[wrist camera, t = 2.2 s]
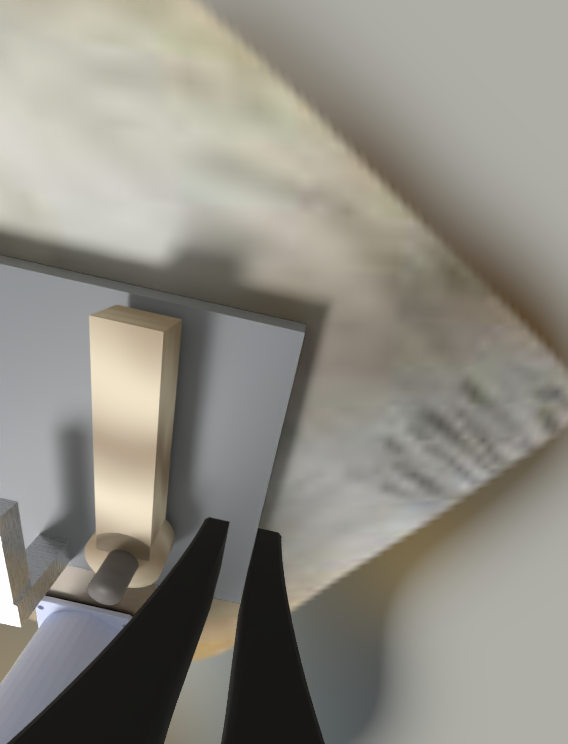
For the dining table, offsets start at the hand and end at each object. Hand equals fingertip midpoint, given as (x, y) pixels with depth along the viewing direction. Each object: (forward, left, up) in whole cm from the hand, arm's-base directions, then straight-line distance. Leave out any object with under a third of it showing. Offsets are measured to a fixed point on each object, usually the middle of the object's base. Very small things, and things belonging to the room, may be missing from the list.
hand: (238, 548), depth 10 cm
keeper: (-11, +12, -8) cm, 18 cm away
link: (-4, +6, -8) cm, 11 cm away
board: (-6, +9, -9) cm, 14 cm away
